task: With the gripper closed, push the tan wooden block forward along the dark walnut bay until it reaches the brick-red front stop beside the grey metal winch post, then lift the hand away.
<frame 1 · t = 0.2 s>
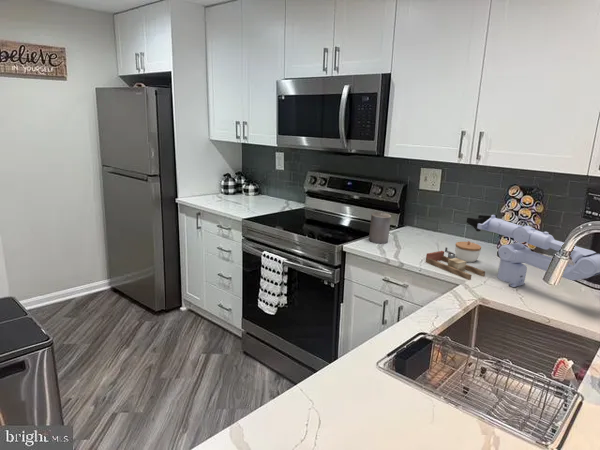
hand: (473, 218, 182), 21 cm above the worktop, tool horizontal, fingers open, 7 cm apart
pillar candle: (378, 241, 217), on the worktop
lidded jar: (465, 261, 194), on the worktop
winch: (450, 262, 191), on the worktop
tan wooden block: (456, 265, 179), point 3 cm above the worktop, slide at 0.0 cm
bay: (453, 271, 180), on the worktop
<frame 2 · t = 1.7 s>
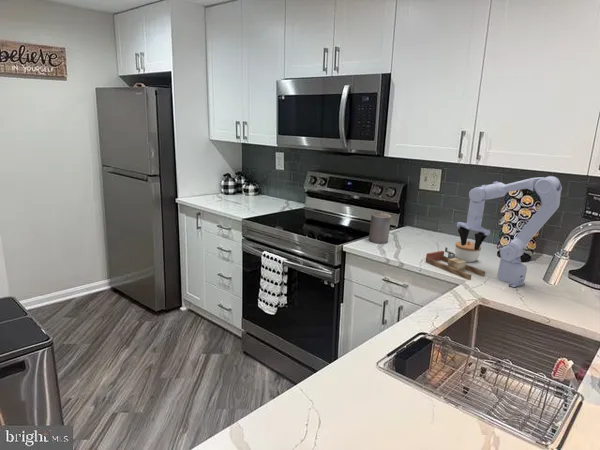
hand: (469, 247, 181), 10 cm above the worktop, tool pointing down, fingers open, 6 cm apart
nothing on the worktop moved.
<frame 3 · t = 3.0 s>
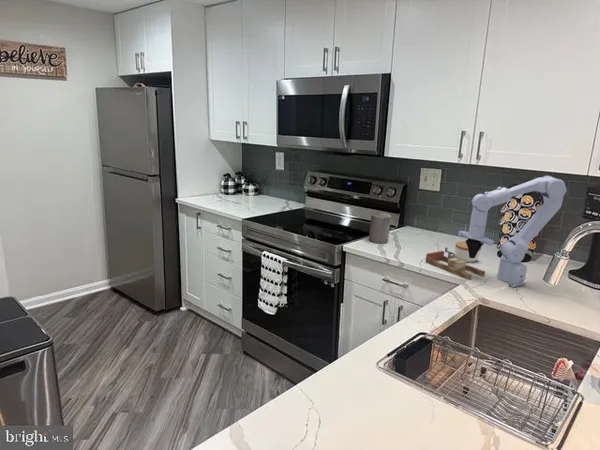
hand: (472, 257, 172), 8 cm above the worktop, tool pointing down, fingers closed
nothing on the worktop moved.
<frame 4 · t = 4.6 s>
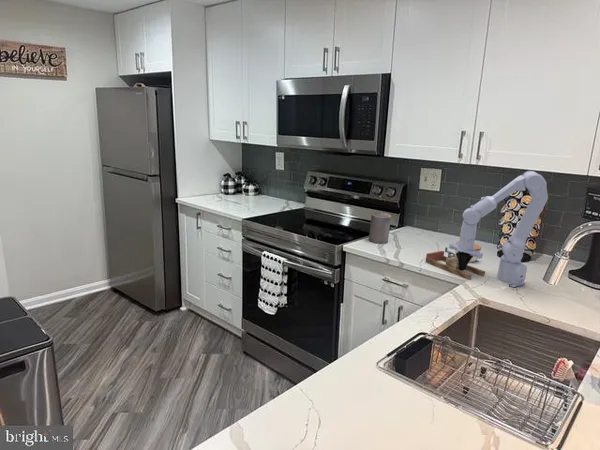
hand: (462, 269, 177), 2 cm above the worktop, tool pointing down, fingers closed
tan wooden block: (454, 264, 180), point 3 cm above the worktop, slide at 1.1 cm, touching gripper
everything else where it was.
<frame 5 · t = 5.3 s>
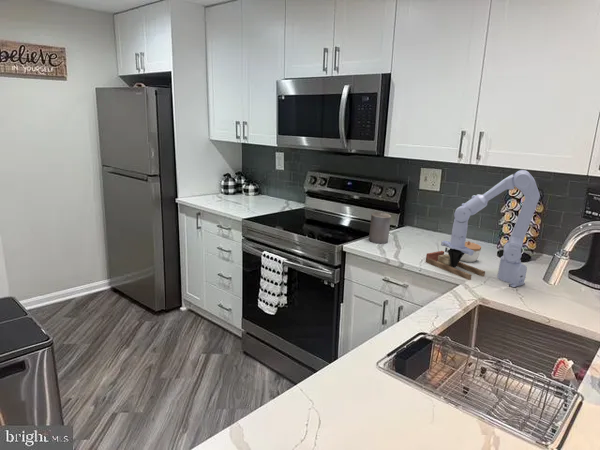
hand: (453, 266, 180), 2 cm above the worktop, tool pointing down, fingers closed
tan wooden block: (446, 261, 183), point 3 cm above the worktop, slide at 5.2 cm, touching gripper
everything else where it was.
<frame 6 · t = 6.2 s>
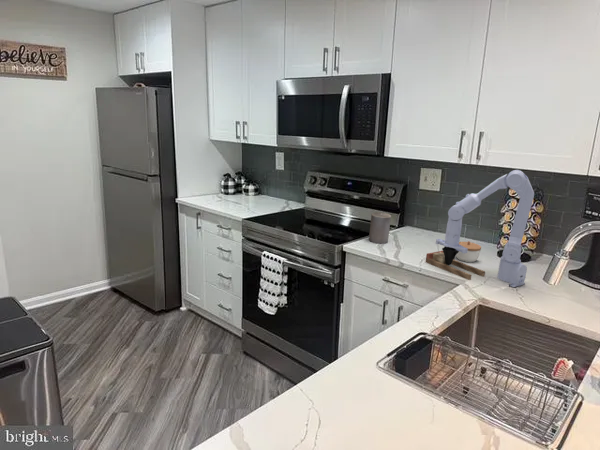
hand: (448, 264, 182), 2 cm above the worktop, tool pointing down, fingers closed
tan wooden block: (441, 259, 185), point 3 cm above the worktop, slide at 8.0 cm, touching gripper
everything else where it was.
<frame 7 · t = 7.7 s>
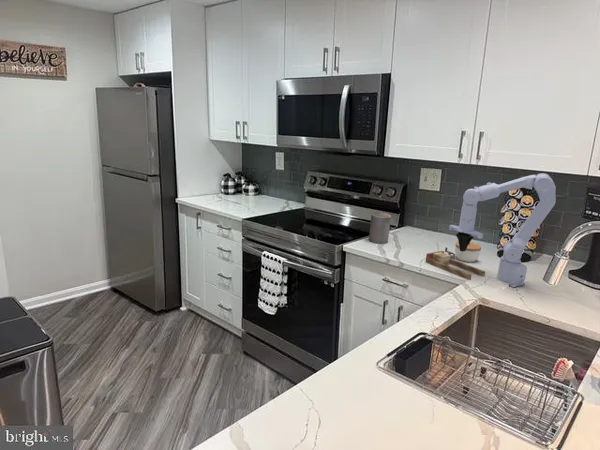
hand: (462, 250, 177), 9 cm above the worktop, tool pointing down, fingers closed
tan wooden block: (441, 259, 185), point 3 cm above the worktop, slide at 8.0 cm
everything else where it was.
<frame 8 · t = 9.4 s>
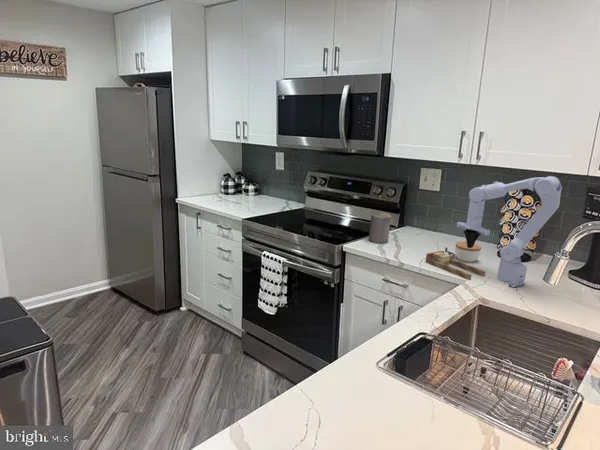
hand: (469, 247, 181), 10 cm above the worktop, tool pointing down, fingers closed
nothing on the worktop moved.
at the end: tan wooden block slide at 8.0 cm; tan wooden block 0.2 cm from the target spot on the bay, point 3.1 cm above the bay's base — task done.
